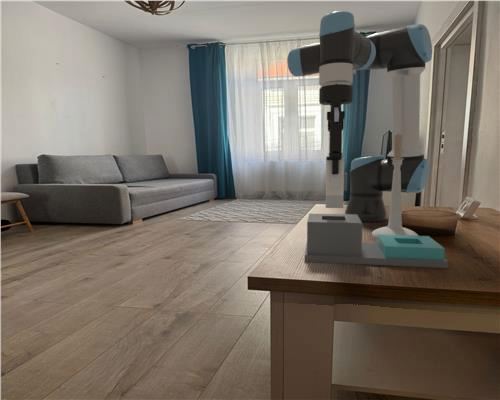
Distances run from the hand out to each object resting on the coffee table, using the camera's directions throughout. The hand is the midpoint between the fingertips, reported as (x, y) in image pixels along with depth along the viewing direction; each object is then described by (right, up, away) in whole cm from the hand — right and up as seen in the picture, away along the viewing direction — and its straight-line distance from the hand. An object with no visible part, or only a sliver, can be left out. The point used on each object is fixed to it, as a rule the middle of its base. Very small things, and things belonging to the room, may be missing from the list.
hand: (334, 187), depth 86 cm
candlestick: (+23, -14, +21) cm, 34 cm away
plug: (0, -5, +1) cm, 5 cm away
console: (+8, -16, 0) cm, 18 cm away
